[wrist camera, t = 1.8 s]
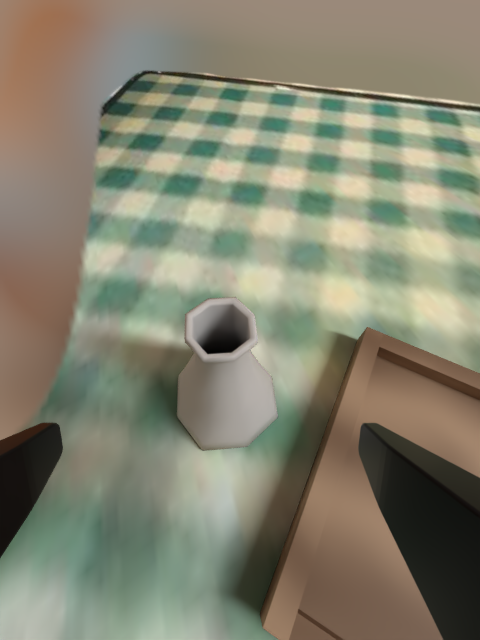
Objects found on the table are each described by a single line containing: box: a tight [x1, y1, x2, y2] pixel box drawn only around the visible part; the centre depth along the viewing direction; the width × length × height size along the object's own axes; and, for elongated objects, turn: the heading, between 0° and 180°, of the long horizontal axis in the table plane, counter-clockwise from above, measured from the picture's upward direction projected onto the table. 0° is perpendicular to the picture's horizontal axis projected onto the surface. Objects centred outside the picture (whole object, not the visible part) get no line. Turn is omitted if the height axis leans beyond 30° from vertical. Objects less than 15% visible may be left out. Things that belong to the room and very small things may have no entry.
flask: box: [177, 297, 278, 451], centre depth 17 cm, size 7×7×10 cm
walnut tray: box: [260, 327, 480, 640], centre depth 16 cm, size 18×18×2 cm
